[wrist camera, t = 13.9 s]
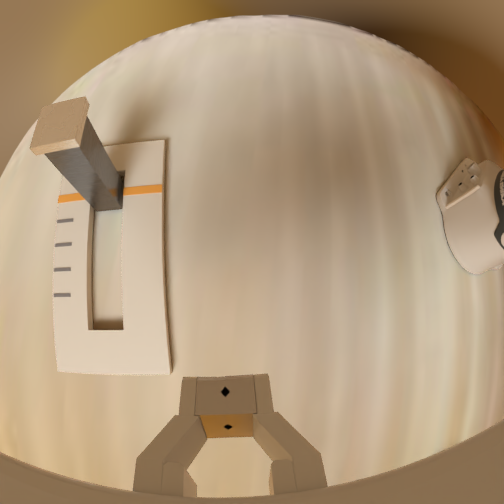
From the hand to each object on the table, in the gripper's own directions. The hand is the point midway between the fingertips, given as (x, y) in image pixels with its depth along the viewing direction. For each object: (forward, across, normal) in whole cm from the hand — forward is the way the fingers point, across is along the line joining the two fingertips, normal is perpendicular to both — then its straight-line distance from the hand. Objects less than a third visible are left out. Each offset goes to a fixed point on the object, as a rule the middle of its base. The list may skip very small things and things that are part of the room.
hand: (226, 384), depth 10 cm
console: (+23, +15, +7) cm, 28 cm away
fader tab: (+28, +15, +2) cm, 32 cm away
